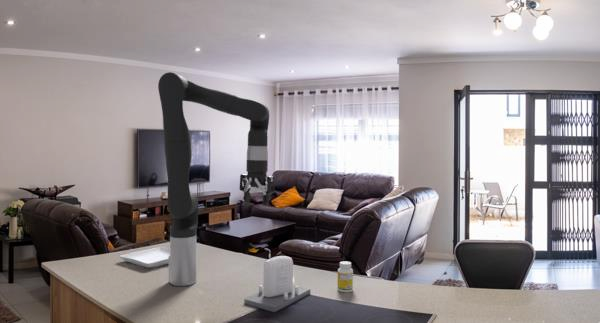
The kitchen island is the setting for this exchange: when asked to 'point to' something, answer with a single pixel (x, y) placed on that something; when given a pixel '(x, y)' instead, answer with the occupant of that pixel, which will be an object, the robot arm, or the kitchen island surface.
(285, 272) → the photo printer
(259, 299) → the pin tray
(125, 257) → the salad plate
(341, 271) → the supplement bottle
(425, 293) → the kitchen island surface
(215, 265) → the kitchen island surface
